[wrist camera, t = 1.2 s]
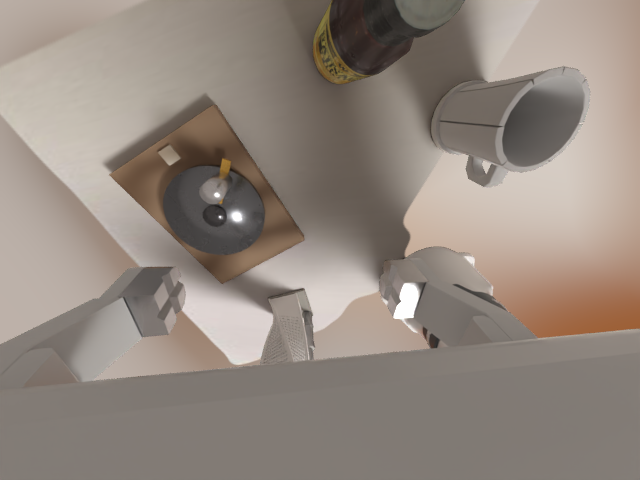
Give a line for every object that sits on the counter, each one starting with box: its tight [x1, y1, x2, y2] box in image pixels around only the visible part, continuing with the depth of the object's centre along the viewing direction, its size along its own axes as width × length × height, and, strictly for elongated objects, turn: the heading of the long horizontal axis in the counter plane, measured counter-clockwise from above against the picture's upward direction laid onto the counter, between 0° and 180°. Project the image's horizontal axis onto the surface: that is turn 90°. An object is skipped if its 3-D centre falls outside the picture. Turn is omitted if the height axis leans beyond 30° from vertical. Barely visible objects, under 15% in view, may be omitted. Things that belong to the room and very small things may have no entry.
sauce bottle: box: [313, 0, 465, 84], centre depth 18 cm, size 7×6×20 cm
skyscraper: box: [260, 289, 315, 365], centre depth 33 cm, size 8×8×28 cm
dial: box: [163, 158, 265, 255], centre depth 30 cm, size 14×13×6 cm
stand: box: [110, 105, 304, 284], centre depth 33 cm, size 21×16×2 cm
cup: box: [431, 67, 590, 187], centre depth 27 cm, size 10×9×12 cm
